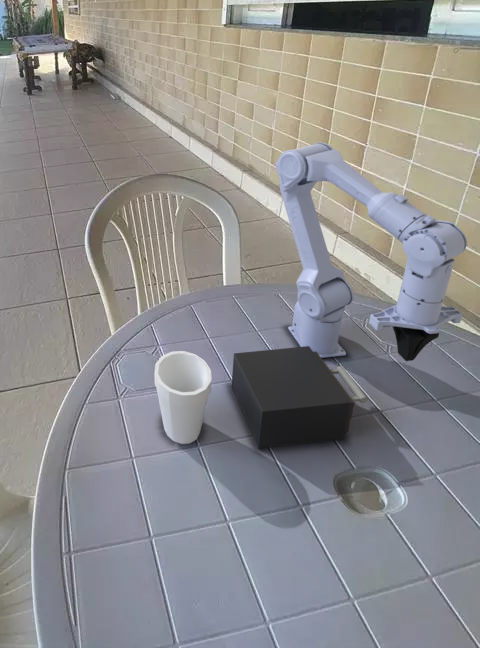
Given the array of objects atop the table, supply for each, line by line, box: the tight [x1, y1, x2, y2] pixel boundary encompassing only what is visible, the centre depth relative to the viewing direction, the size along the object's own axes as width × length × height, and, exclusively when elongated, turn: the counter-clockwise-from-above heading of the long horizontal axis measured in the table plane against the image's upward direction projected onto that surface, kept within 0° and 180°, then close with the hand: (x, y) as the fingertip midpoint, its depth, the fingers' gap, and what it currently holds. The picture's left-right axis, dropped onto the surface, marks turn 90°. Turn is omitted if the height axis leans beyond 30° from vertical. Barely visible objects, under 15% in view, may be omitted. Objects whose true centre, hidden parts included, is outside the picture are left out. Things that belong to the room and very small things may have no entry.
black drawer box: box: [230, 346, 350, 449], centre depth 76 cm, size 15×13×9 cm
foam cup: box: [154, 350, 212, 445], centre depth 73 cm, size 10×9×13 cm
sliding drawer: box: [314, 351, 368, 433], centre depth 76 cm, size 18×11×7 cm, turn 94°
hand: (405, 356), depth 74 cm, fingers closed
